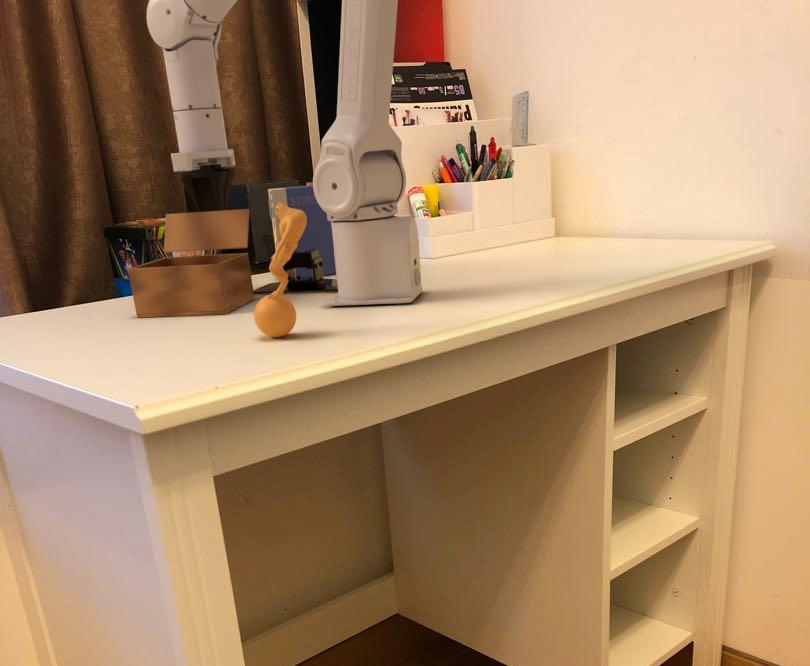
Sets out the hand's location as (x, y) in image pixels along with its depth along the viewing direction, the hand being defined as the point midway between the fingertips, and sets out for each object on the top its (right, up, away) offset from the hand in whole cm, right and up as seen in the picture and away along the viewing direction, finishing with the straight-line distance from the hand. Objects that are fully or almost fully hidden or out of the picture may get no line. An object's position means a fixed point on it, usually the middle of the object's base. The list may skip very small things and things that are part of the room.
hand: (216, 232), depth 109 cm
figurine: (+12, -19, -24) cm, 33 cm away
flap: (-1, -1, -3) cm, 3 cm away
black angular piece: (+11, -6, +3) cm, 13 cm away
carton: (-1, -11, -5) cm, 12 cm away
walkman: (+10, -2, +14) cm, 17 cm away
